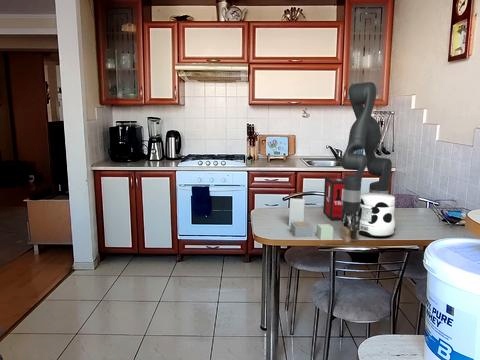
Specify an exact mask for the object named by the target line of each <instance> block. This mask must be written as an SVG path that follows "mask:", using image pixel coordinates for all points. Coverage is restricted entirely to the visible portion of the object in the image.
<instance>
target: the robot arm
mask: <svg viewBox="0 0 480 360" xmlns="http://www.w3.org/2000/svg"><path fill="white" fill-rule="evenodd" d="M348 98H349V99H348V100H349V101H350V105H351V108H352V111H353V113H354V117H355V121H354V122H353V124H352V125H351V127H350V130H349V133H348V135H349V136H348V142H347V146H346V148H345V151H344V153H343V155H342V157H341V159H340V166H341V167H342V169H344V170H346V171H348V170H349V171H356V173H355V174H349V175H346V176H344V192H343V202H342V216H341V221H340V223H342V226H350V227H351V239H356V232H357V230H359V229H360V216H357V215H358V214H357V213H358V211H360V203H361V194H362V181H363V175H364V173H365V169H366V168H367V172H368V174H369V175H371V176H376V177H380V179H379V180H377V181H373V182H371V183H370V184H369V187H368V189H369V190H368V193H383V194H388V195H389V190H390V184H391V176H392V171H393V170H392V168H393V163H392V159H390V158H388V157H387V158H386V157H379V156H378V157H377V156H376V153H375V152H376V148H377V147H378V146H379V144H380V141H381V140H382V132H381V127H380V124H379V122H378V121H377V119H376V118H374V117H373V116H372V114H373V111H374V108H375V107H374V106H375V103H376V99H377V86H376V84H375V83H374V82H372V81H370V82H369V81H367V82H359V83H353V84H351V85H349V87H348ZM361 150H364V153H354V152H356V151H361Z"/></svg>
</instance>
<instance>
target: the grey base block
mask: <svg viewBox="0 0 480 360" xmlns="http://www.w3.org/2000/svg"><path fill="white" fill-rule="evenodd" d="M313 227H314V226H313V225H312V224H311V223H310V222H309V221H304V222H291V226H290V233H291V234H292V236H293V237H294V236H295V237H294V238H311V237H312V238H313V230H314V228H313Z"/></svg>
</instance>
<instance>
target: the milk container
mask: <svg viewBox="0 0 480 360" xmlns="http://www.w3.org/2000/svg"><path fill="white" fill-rule="evenodd" d="M395 204H396V197H395V196H394V195H391V194H389V193H388V194H383V193H369V192H363V193H362V192H361V203H360V211H358V212H357V214H356V215H357V216H360V229H359V234H362V235H364V236H367V237H374V238H386V237H390V236H392V235H393V234H394V233H395V230H396V220H395V206H396V205H395Z"/></svg>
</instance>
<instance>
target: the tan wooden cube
mask: <svg viewBox="0 0 480 360" xmlns="http://www.w3.org/2000/svg"><path fill="white" fill-rule="evenodd" d="M340 235H341V237H340V238H341V239H342V241H344V242H345V243H356V242H357V243H358V242H359V235H360V232H359V230H357V232H356V239H351V227H350V226H343V225H342V226H341V234H340Z"/></svg>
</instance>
